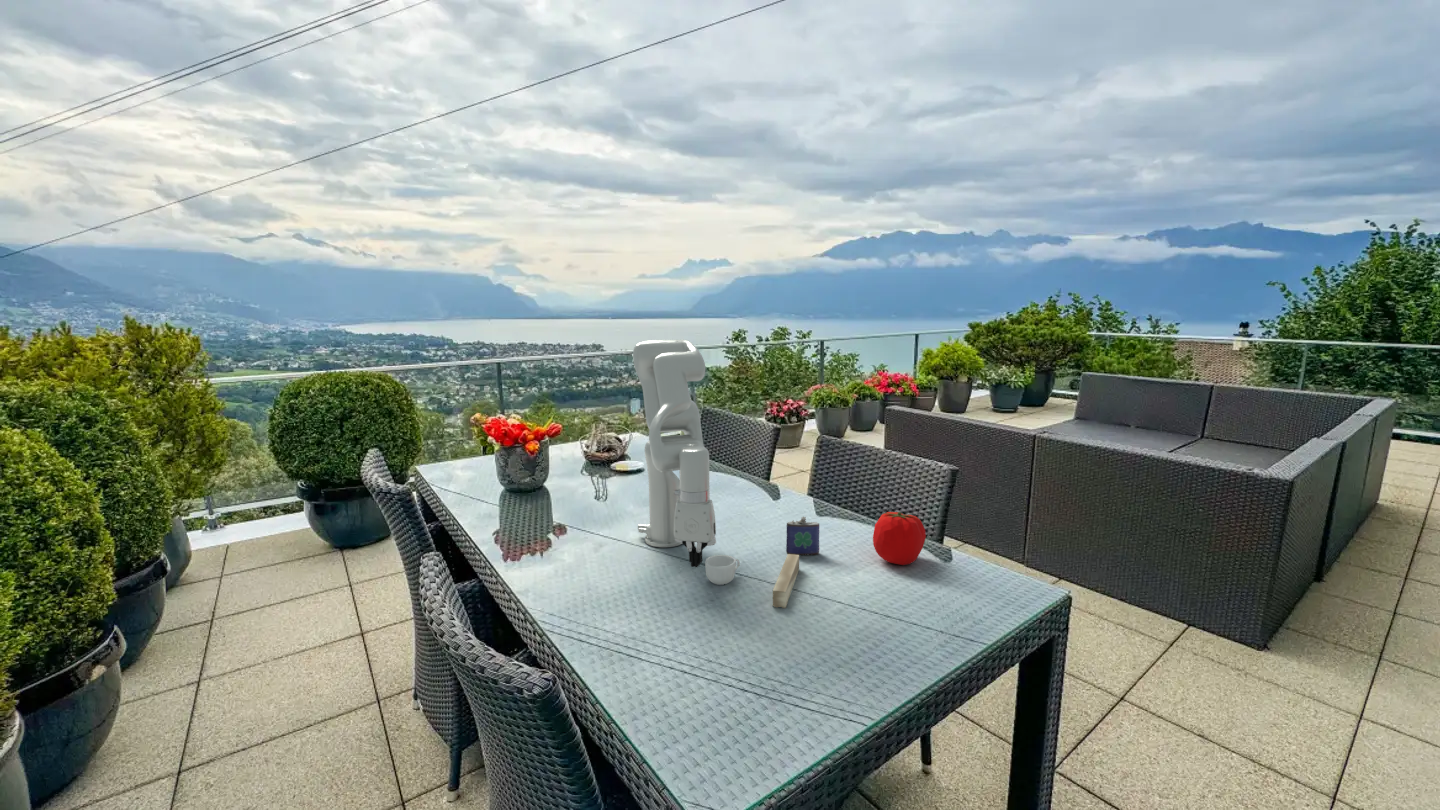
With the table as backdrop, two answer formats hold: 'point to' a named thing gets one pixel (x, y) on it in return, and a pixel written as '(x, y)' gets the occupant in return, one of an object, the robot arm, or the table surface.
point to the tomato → (898, 537)
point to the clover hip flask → (802, 537)
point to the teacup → (721, 568)
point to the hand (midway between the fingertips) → (695, 564)
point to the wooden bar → (785, 581)
